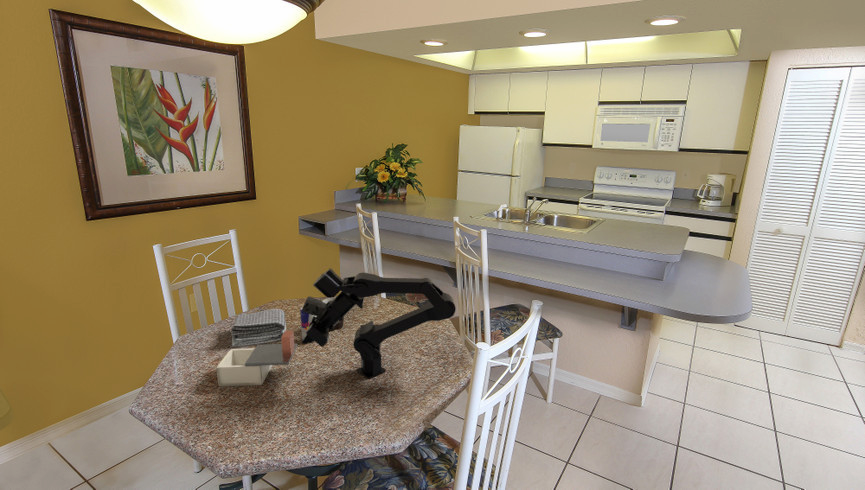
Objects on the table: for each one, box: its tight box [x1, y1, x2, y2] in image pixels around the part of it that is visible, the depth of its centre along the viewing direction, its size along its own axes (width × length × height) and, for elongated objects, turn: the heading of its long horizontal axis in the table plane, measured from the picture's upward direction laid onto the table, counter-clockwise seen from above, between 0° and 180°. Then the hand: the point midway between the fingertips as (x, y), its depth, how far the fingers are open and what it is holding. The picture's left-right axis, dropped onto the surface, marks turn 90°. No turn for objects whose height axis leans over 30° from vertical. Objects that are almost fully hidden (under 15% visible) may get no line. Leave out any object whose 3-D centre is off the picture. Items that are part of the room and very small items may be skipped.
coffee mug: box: [321, 297, 345, 331], centre depth 161 cm, size 12×9×10 cm
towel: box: [230, 308, 287, 348], centre depth 153 cm, size 15×18×8 cm
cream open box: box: [215, 347, 273, 387], centre depth 127 cm, size 12×11×6 cm
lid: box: [245, 330, 298, 366], centre depth 126 cm, size 12×11×7 cm
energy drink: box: [299, 306, 317, 344], centre depth 150 cm, size 5×5×12 cm
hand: (303, 342), depth 127 cm, fingers closed
